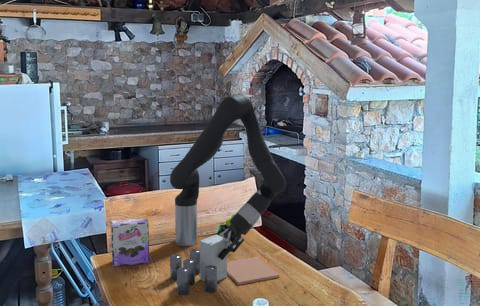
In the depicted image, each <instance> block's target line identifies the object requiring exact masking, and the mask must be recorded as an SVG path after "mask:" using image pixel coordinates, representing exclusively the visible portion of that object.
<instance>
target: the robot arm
mask: <svg viewBox="0 0 480 306" xmlns="http://www.w3.org/2000/svg"><path fill="white" fill-rule="evenodd" d="M216 108H217V109H216V110H215V112H214V114H213V116H212V117H211V118H210V119H211V120H210V121H209V122H208V124H207V125H206V126H205V127H204V130H202V132H201V133H200V134H199V136H198V137H197V139H196V140H195V142H194V143H193V145H192V146H191V148H189V150H188V152H187V153H186V155H185V156H184V157H183V158H182V160H181V161H180V162H178V164H177V165H176V166H175V167H174V168H173V169H172V171H171V173H170V176H169V182H170V185H171V187H172V188H174V189H176V190H181V191H180V193H178V194H177V195H176V197H175V198H174V214H175V216H174V218H175V219H174V221H175V222H174V223H175V224H174V225H175V228H174V229H175V244H176V245H177V246H181V247H191V246H195V245H196V244H197V243H198V199H199V196H200V195H199V194H200V174H199V170H198V169H199V168H200V167H201V166H203V165H204V164H206V163H207V162H209V161H210V160H212V159H213V158H214V157H215V155H216V154H217V152H218V151H219V150H220V148H221V147H222V145H223V143H224V135H225V133H226V131H228V129H229V128H230V126H231V125H232V124H233V123H234V122H235V121H238V120H240V121H241V123H242V124H243V126H244V129H245V133H246V141H247V148H248V154H249V156H250V159H251V160H252V162H253V164H254V166H255V168H256V169H257V171H258V172H260V174H261V176H262V178H263V182H262V183H261V184H260V186H259V187H258V188H257V190H256V191H255V193H253V194H252V196H250V197H249V199H248V200H247V201H246V203H244V204H243V205H242V206H241V207H240V209H238V211H237V212H235V214H233V215H234V216H233V218H232V219H231V220H230V224H231V225H230V226H228V225H226V223H225V225H224V226H223V227H222V228H221V229H220V230H219V231H218V230H217V232H216V233H215V234H214V235H218V236H221V237H224V238H226V239H227V240H226V243H227V244H226V247H225V248H226V249H225V248H224V249H223V250H222V251H221V252H220V254H219V255H218V257H219V258H220V259H221V260H223V259H224V258H225V257H226V256H227V257H228V255H229V254H230V253H236V251H238V249H239V247H240V246H241V245H242V244H243V242H244V241H245V238H244V237H243V236H246V235H247V234H248V233H249V232H250V230H251V229H252V228H253V227H254V226H255V224H256V223H257V222H258V221H259V219H260V218H261V216H262V215H263V214H264V213H265V212H266V210H267V209H268V208H269V207H270V204H271V203H272V201H273V200H274V199H275V197H277V195H278V194H281V193H282V192H283V191H284V190H285V188H286V187H287V182H286V179H285V176H284V174H283V173H282V171H281V169H280V167H279V166H278V165H277V163H276V162H275V160H274V157H273V156H272V153H271V151H270V149H269V147H268V145H267V143H266V141H265V139H264V136H263V134H262V130H261V127H260V123H259V121H258V118H257V114H256V112H255V108H254V105H253V102H252V100H251V98H250V97H249V96H248V95H247V94H245V93H239V92H238V93H236V94H229V95H227V96H226V97H224V98H223V99H222V100H221V101H220V103H219V105H218V107H216ZM219 234H220V235H219ZM242 235H243V236H242Z"/></svg>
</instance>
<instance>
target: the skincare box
mask: <svg viewBox="0 0 480 306" xmlns="http://www.w3.org/2000/svg"><path fill="white" fill-rule="evenodd" d="M226 240H227V239H226V238H224V237H221V236H218V235H215V234H214V235H212V236H209V237H206V238H204V239H201V240H199V250H200V273H199V277H200V278H199V279H200V280H201V281H203V282H205V267H206V266H209V265H213V266H216V267H217V282H218V281H221V280H224V279H225V278H227V277H228V274H227V262H228V255H227V256H226V257H225V258H224V259H223V260H221V259H220V258H219V257H218V255H219V254H220V252H221V251H222V250H223V249H224V248H225V247H226V244H227V243H226ZM225 249H226V248H225Z"/></svg>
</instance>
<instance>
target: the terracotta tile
mask: <svg viewBox="0 0 480 306" xmlns="http://www.w3.org/2000/svg"><path fill="white" fill-rule="evenodd" d="M227 276H228V277H230V279H232V280H233V281H234V282H235V284H237V286H241V285H246V284H250V283H256V282H261V281H262V282H263V281H266V280H273V279H277V278H280V274H279V272H277V271H275V270H274V269H273V268H272V267H270V266H269V264H267V263H266V262H265V261H263V260H262V259H261V258H260V257H259V256H253V257H248V258H242V259H237V260H236V259H235V260H230V261H227Z"/></svg>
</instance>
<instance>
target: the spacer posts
mask: <svg viewBox="0 0 480 306" xmlns="http://www.w3.org/2000/svg"><path fill="white" fill-rule="evenodd" d="M182 262H183V265H182ZM169 270H170V271H169V273H170V274H169V275H170V276H169V278H170V280H172V281H176V282H177V283H176V285H177V286H176V291H177V295H179V296H187V295H189V294H190V286H193V285H194V286H195V285H196V275H198V274H199V275H200V248H194V249H191V250H189V258H187V259H183V261H182V255H181V254H180V253H179V254H178V253H175V254H171V255H170V256H169ZM204 291H205V292H206V293H208V294H213V293H216V292H217V291H218V281H217V267H216V266H213V265H209V266H206V267H205V281H204Z"/></svg>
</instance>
